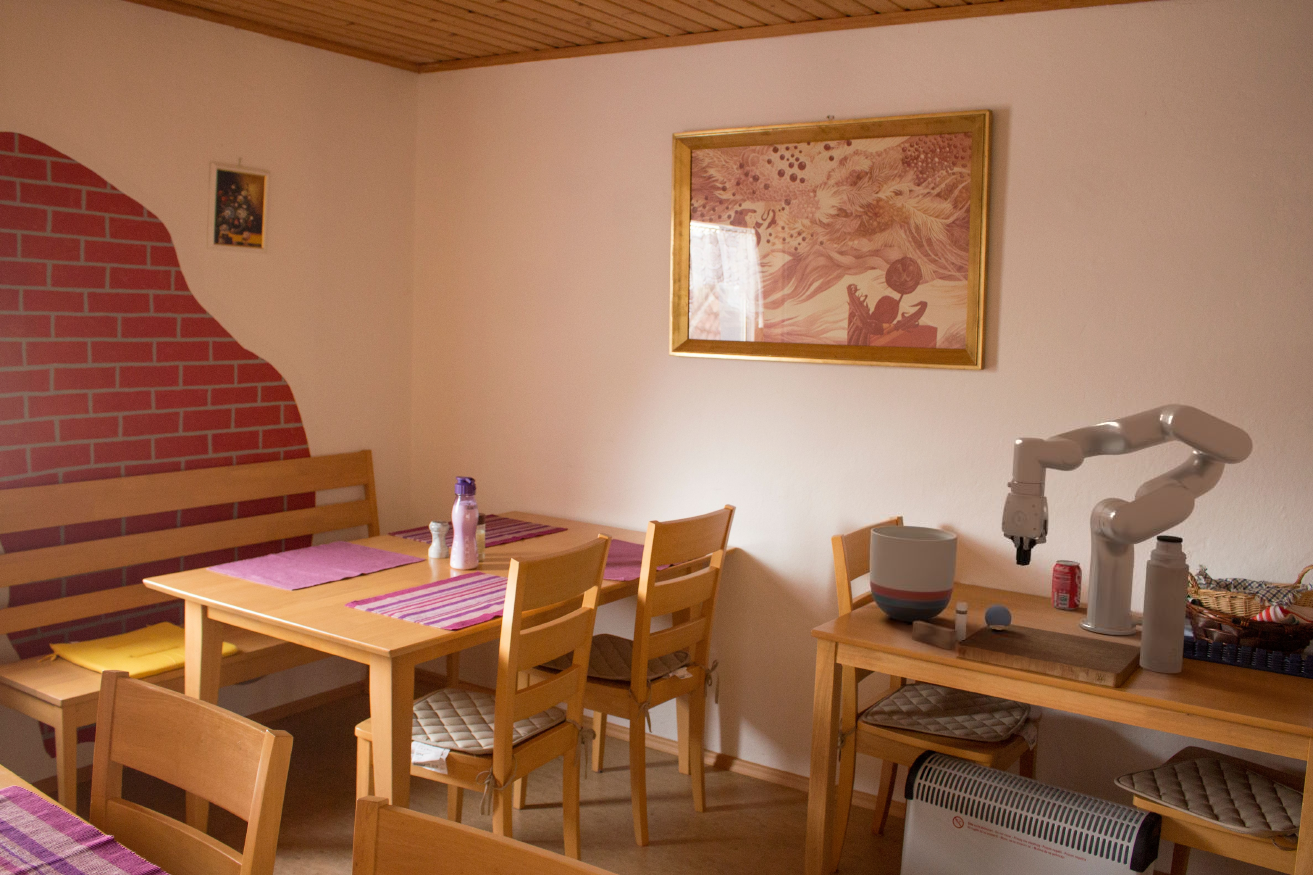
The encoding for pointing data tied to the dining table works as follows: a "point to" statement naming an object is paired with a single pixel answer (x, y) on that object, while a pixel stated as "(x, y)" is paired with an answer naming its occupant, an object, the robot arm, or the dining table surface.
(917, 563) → the planter
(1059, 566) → the soda can
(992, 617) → the ball
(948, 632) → the stopper bar
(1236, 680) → the dining table surface
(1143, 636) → the thermos bottle
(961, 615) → the pin
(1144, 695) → the dining table surface
